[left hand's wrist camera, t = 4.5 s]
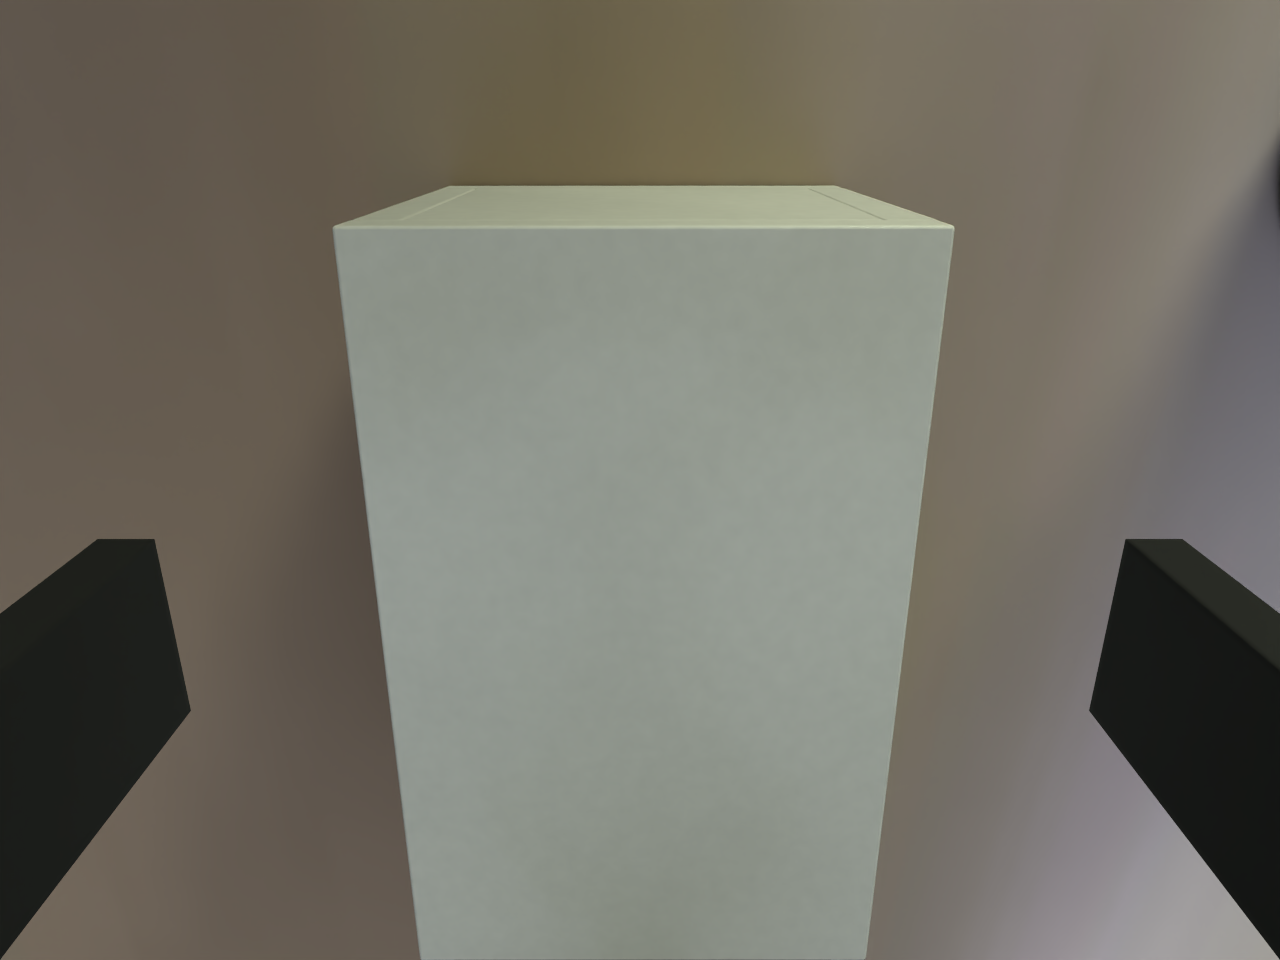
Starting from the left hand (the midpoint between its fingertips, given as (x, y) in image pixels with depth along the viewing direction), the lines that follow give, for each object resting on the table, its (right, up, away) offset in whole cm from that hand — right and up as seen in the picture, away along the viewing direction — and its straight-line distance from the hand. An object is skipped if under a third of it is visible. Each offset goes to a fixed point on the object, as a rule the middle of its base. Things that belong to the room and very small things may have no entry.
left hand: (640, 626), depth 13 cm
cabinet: (0, +2, +18) cm, 18 cm away
